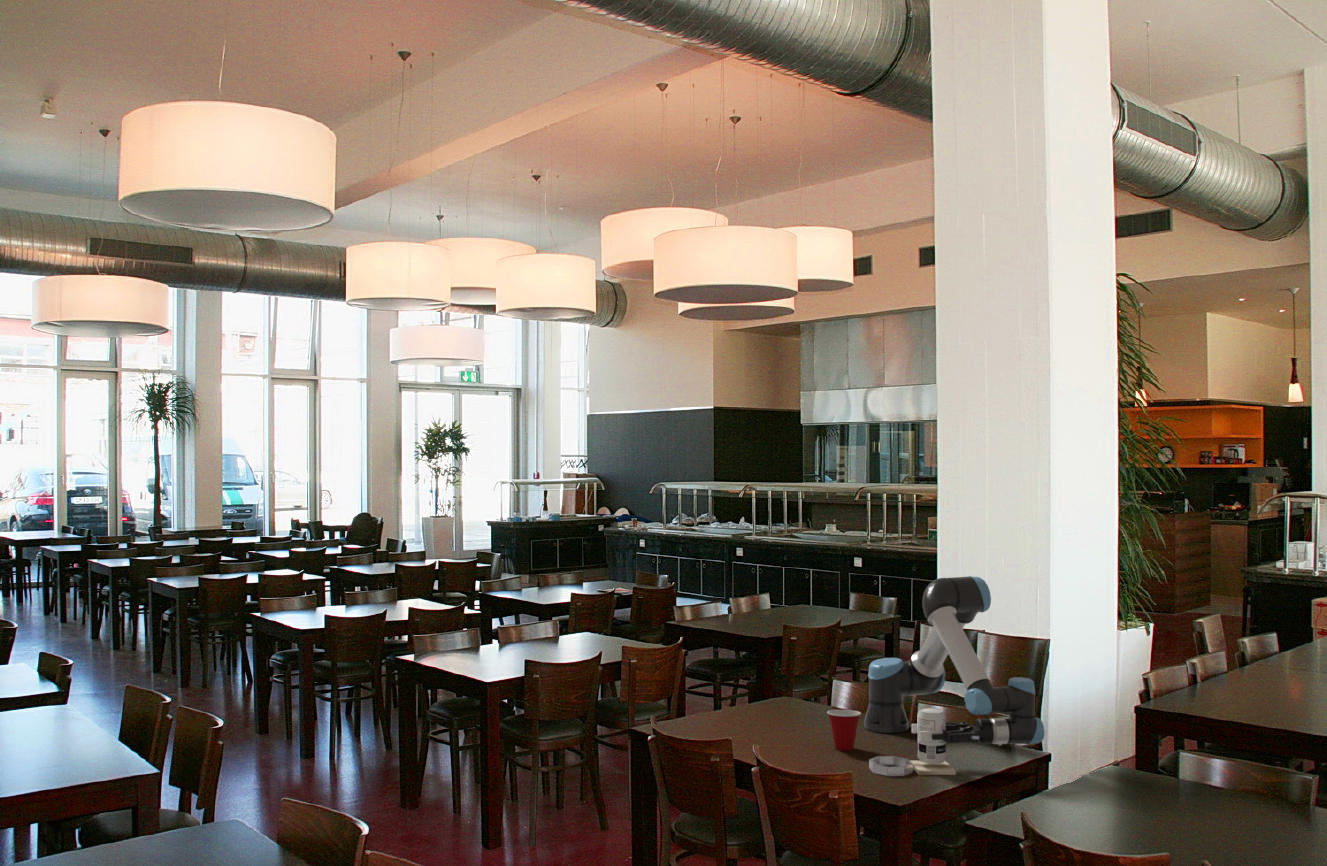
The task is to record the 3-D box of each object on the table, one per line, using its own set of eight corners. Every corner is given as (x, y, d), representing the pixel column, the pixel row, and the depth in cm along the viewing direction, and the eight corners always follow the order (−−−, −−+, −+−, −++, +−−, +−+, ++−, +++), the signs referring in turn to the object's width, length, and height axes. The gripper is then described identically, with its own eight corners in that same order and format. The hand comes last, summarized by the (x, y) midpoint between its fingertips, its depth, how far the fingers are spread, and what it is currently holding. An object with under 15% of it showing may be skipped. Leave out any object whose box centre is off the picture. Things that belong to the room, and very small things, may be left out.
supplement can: (914, 757, 317) (913, 707, 318) (940, 756, 318) (940, 706, 318) (922, 764, 309) (922, 713, 310) (950, 764, 310) (949, 713, 310)
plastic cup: (859, 744, 341) (859, 707, 342) (862, 753, 331) (862, 715, 331) (826, 743, 342) (826, 706, 343) (828, 752, 332) (827, 714, 332)
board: (908, 764, 319) (908, 760, 319) (944, 763, 319) (944, 759, 319) (919, 775, 308) (919, 771, 308) (955, 774, 308) (955, 770, 308)
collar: (866, 764, 319) (866, 756, 319) (905, 763, 319) (905, 755, 319) (875, 776, 307) (875, 767, 307) (916, 775, 307) (916, 767, 307)
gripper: (1003, 753, 304) (926, 754, 303) (978, 734, 325) (906, 735, 324) (1003, 727, 304) (925, 728, 303) (978, 710, 325) (906, 711, 324)
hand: (916, 732), depth 314 cm, fingers closed on supplement can, 8 cm apart
